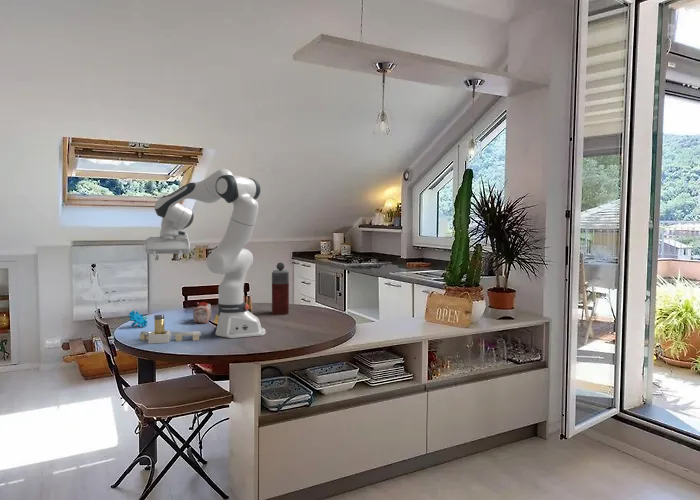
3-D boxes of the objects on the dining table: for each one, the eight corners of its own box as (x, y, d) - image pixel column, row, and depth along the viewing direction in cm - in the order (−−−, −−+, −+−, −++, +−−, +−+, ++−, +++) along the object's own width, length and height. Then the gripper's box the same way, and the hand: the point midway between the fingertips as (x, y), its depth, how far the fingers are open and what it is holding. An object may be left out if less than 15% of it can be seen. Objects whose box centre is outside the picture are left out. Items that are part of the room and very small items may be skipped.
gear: (137, 326, 250) (126, 310, 253) (129, 334, 251) (119, 318, 254) (153, 324, 261) (143, 309, 263) (146, 332, 262) (135, 317, 265)
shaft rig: (201, 336, 236) (201, 329, 236) (200, 341, 228) (200, 333, 228) (151, 339, 232) (151, 331, 232) (148, 343, 224) (148, 335, 224)
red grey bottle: (289, 310, 300) (289, 261, 298) (288, 314, 289) (288, 263, 287) (273, 310, 299) (273, 261, 297) (272, 314, 288) (271, 263, 286)
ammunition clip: (252, 318, 279) (252, 295, 278) (251, 318, 277) (251, 296, 276) (232, 317, 279) (232, 295, 278) (231, 318, 277) (231, 295, 276)
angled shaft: (152, 338, 232) (152, 331, 232) (147, 340, 229) (147, 332, 228) (145, 338, 233) (145, 330, 233) (139, 340, 230) (139, 332, 230)
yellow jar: (165, 337, 231) (164, 314, 230) (164, 339, 227) (163, 316, 226) (155, 337, 230) (155, 314, 230) (154, 339, 226) (153, 316, 226)
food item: (209, 324, 264) (208, 304, 263) (192, 324, 263) (192, 304, 262) (212, 318, 278) (212, 299, 277) (196, 318, 276) (196, 300, 276)
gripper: (145, 232, 252) (142, 255, 243) (190, 232, 256) (189, 254, 247) (147, 241, 257) (144, 263, 248) (191, 241, 261) (190, 263, 252)
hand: (167, 259), depth 247 cm, fingers open, 8 cm apart
